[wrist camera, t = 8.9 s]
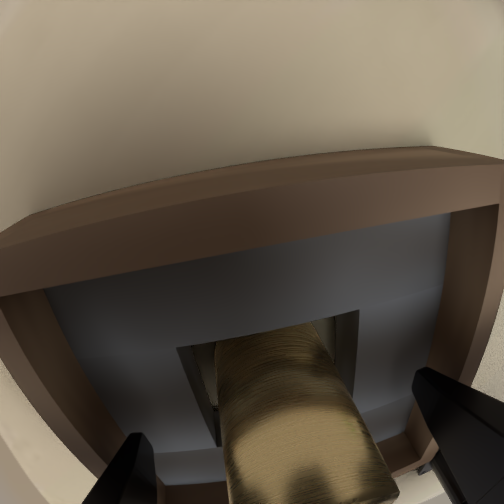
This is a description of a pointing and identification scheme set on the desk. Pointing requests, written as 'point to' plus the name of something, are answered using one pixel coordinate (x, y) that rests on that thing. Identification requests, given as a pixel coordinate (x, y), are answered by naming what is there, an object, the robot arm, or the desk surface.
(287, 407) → the peg
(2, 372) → the desk surface
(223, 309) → the bore box
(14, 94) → the desk surface
